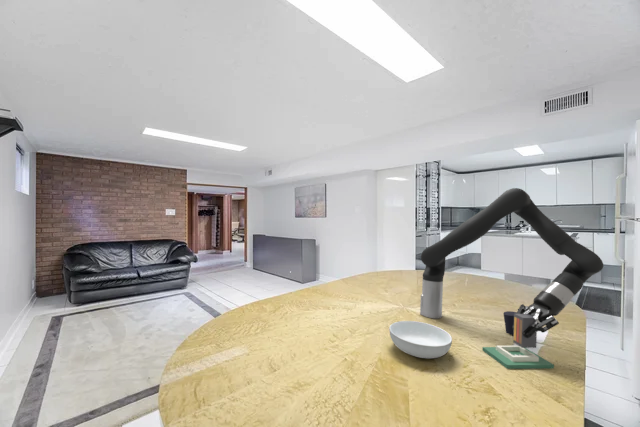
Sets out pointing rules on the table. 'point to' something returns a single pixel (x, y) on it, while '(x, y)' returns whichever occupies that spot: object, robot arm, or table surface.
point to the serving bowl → (420, 339)
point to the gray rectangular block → (519, 327)
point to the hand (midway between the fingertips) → (519, 333)
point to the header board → (517, 357)
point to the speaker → (509, 321)
